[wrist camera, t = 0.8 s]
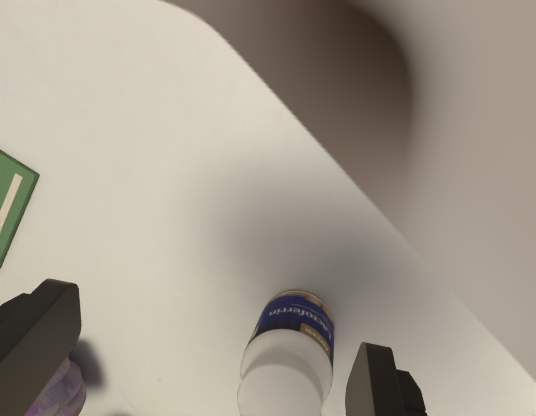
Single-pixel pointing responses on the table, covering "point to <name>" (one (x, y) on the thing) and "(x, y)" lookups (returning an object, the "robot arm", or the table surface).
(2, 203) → the medicine mat
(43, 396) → the headphones
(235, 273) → the table surface
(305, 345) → the pill bottle
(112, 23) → the table surface
